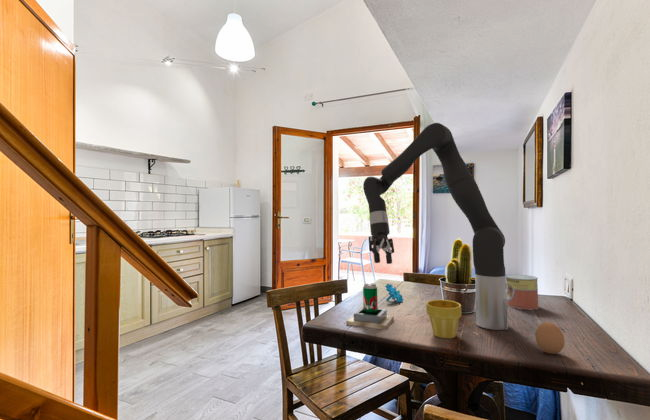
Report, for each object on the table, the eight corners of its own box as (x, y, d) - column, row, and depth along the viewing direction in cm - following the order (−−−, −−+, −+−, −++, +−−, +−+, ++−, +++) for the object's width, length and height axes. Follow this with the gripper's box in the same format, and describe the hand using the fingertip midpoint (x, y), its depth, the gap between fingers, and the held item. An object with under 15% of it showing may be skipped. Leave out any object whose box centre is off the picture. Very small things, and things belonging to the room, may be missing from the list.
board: (393, 319, 118) (393, 315, 118) (386, 329, 107) (385, 325, 107) (357, 315, 123) (357, 312, 123) (346, 324, 112) (346, 321, 113)
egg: (568, 359, 82) (567, 327, 83) (539, 356, 85) (538, 324, 85) (560, 350, 88) (559, 319, 89) (533, 347, 91) (532, 317, 91)
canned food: (501, 302, 139) (500, 274, 139) (528, 302, 138) (527, 274, 139) (515, 310, 128) (514, 279, 128) (545, 309, 127) (543, 279, 127)
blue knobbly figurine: (398, 301, 137) (384, 282, 142) (389, 310, 138) (375, 291, 144) (408, 299, 145) (394, 282, 151) (399, 308, 147) (386, 290, 152)
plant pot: (427, 339, 98) (426, 306, 98) (426, 328, 108) (425, 298, 108) (464, 342, 95) (463, 308, 95) (459, 330, 105) (458, 300, 105)
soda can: (379, 317, 117) (378, 283, 117) (375, 321, 112) (374, 286, 112) (366, 315, 119) (365, 282, 119) (361, 319, 114) (361, 285, 114)
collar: (386, 316, 117) (386, 309, 118) (380, 323, 109) (380, 316, 109) (362, 313, 121) (361, 306, 121) (353, 320, 113) (353, 313, 113)
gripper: (376, 219, 125) (381, 261, 121) (396, 223, 135) (401, 262, 131) (361, 223, 130) (365, 263, 126) (381, 227, 140) (385, 265, 136)
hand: (383, 263), depth 128 cm, fingers open, 8 cm apart
